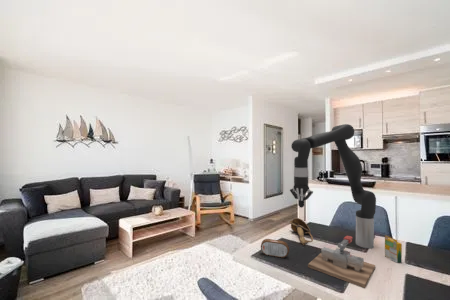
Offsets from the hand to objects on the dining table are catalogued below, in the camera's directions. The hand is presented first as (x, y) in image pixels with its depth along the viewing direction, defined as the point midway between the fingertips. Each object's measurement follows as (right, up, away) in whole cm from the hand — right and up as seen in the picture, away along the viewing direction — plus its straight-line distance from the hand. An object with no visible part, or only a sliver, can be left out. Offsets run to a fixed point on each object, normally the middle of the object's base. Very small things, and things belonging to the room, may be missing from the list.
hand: (301, 207), depth 123 cm
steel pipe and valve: (+15, -25, -14) cm, 32 cm away
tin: (-15, -26, -2) cm, 30 cm away
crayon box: (+46, -27, -5) cm, 54 cm away
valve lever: (+19, -18, -10) cm, 28 cm away
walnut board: (+15, -26, -14) cm, 33 cm away
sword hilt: (+8, -27, +23) cm, 36 cm away
